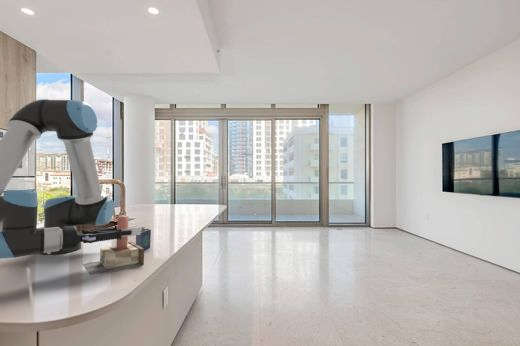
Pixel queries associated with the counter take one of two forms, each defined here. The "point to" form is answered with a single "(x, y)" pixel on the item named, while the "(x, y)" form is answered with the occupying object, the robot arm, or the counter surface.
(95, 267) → the grey fixture base
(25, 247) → the robot arm
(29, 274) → the counter surface
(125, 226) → the dowel
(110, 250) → the socket block
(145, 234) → the flask
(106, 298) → the counter surface
